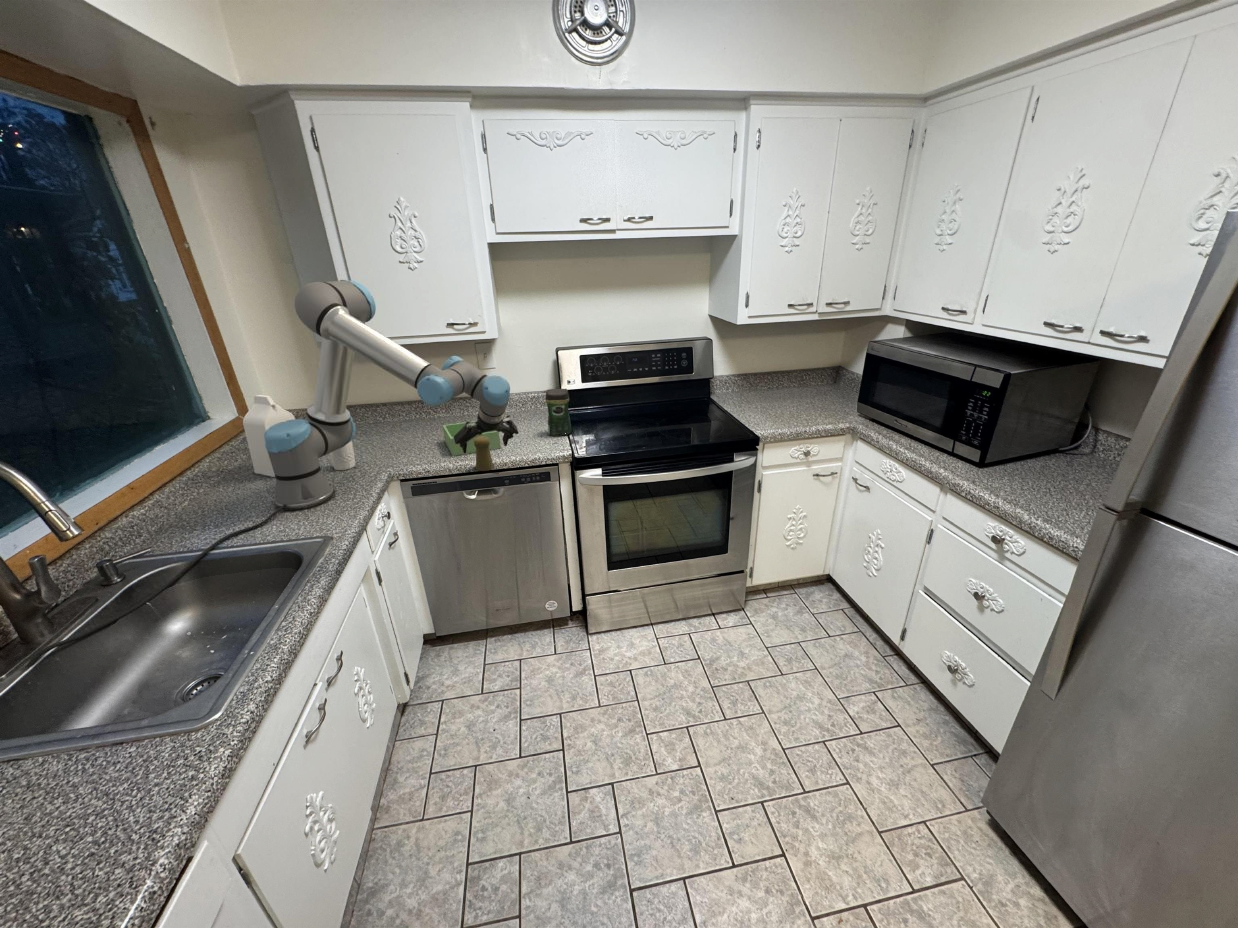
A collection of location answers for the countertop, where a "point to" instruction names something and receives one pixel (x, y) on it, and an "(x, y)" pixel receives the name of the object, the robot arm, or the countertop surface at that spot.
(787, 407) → the countertop surface
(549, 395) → the coffee jar
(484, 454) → the cork
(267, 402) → the milk
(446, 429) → the box
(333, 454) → the white cup
